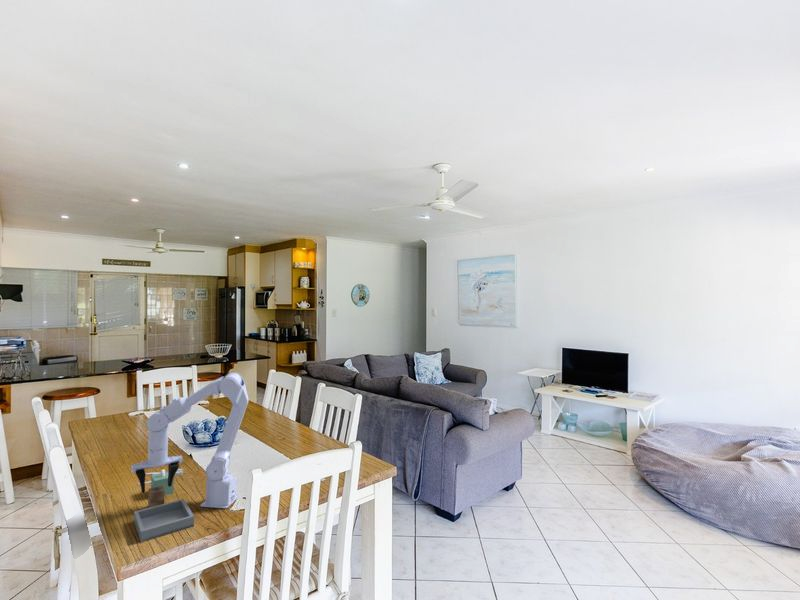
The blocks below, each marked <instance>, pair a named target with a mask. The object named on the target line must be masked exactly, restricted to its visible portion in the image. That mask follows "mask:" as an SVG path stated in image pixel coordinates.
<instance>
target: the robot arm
mask: <svg viewBox="0 0 800 600" xmlns="http://www.w3.org/2000/svg"><path fill="white" fill-rule="evenodd" d="M246 387H247V386H246V381H245V380H244V378H243V377H242V375H241V374H240V373H238V372H229V373H227V374H226V375H225V376H220V377H218V378H217V379H214V380H212V381H211V382H210V383H207V384H206V385H205V386H203V387H202V388H200V389H198V390H197V391H196V392H194V393H192V394H191V395H190V396H188V397H183V396H181V397H179V398H178V397H175V398H173V399H172V401H171V403H169V404H168V405H166V406H161V407H160V408H159V410H156V411H155V412H154V413H152V414H151V415H150V416H149V417H148V419H147V421H146V427H147V429H148V438H147V439H148V440H147V441H148V442H147V444H148V445H147V460H145V461H142V462H138V463H134V464H131V465H130V466H131V468H130V469H131V470H130V471H131V473H134V474H135V475H136V478H137V479H138V482H139V483H140V485H139V486H140V490H141V491H140V492H141V493H142V494H143V493H146V484H145V482H146V476H147V475H146V474H145V473H146V471H145V470H149V469H153V468H158V467H163V466H167V465H168V468H167V469H168V471H167V472H168V486H169V487H170V486H171V485H172V481H173V478H174V477H175V476H174V475H175V473H176V471H177V470H178V469H180V464H182V463H183V456H182V455H176V456H175V455H173V456H168V454H169V452H168V451H169V450H168V449H169V448H168V447H169V424H171V423H173V422H175V421H177V420H179V419H181V418H182V417H183V416H185V415H187V414H188V413H189V412H191V410H192V406H194V405H196V404H198V403H199V402H201V401H203V400H204V399H206V398H208V397H209V396H211V395H218V396H220V395H221V394H222V395H224V396H225V397H226V398H228V399H229V401H230V403H231V404H232V407H231V410H230V412H229V415H228V417H227V420H226V423H225V426H224V430H223V431H222V434H221V437H220V440H219V443H218V446H217V448H216V450H215V453H214V455H213V456H212V458H211V459H210V460H211V461H210V462H209V464H208V465H207V466H206V468H205V475H206V483H205V484H206V486H205V500H204V501H203V502H202V503H201V504H200V505H199V506H200V507H201V508H203V507H204V508H215V509H228V508H229V507H230V506H231V505H232V504H233V503H234V502H235V501H236V500H237V499H238V498H239V497H238V478H237V477H235V476H232V475H231V474H230V471H229V470H228V468H229V466H230V464H231V453H232V449H233V446H234V443H235V441H236V438H237V435H238V432H239V429H240V428H241V427H240V426H241V424H242V421H243V418H244V415H245V413H246V409H247V407H248V404H249V400H250V399H249V395H248V392H247V388H246ZM174 479H175V478H174Z"/></svg>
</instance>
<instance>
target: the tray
mask: <svg viewBox="0 0 800 600" xmlns="http://www.w3.org/2000/svg"><path fill="white" fill-rule="evenodd" d="M133 523H134V524H133V525H134V527H135V529H136V530H135V531H136V532H137V535H138V536H137V537H138V539H139V542H140V543H143V542H145V541H150V540H152V539H156V538H159V537H164V536H166V535H168V534H173V533H176V532H180V531H183V530H186V529H189V528H192V527H194V526H195V515H194V513H193V512H192V510H191V509H190V507H189V506H188V503H187V502H186V500H185V499H184V498H181V499H177V500H174V501H171V502H169V501H168V502H166V503H165V502H164V504H161V505H158V506H154V507H150V508H148V507H146V508H143V509H139V510H135V511H133Z"/></svg>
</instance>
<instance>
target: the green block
mask: <svg viewBox="0 0 800 600" xmlns="http://www.w3.org/2000/svg"><path fill="white" fill-rule="evenodd" d="M159 472H160V473H159V474H154V475H150V476H151V477H150V478H151V479H150V481H151V483H150V488H154V487H158V486H163V488H164V490H165V496H166V495H173V494H174V482H175V481H174V480H175V478H173V481H172V485H171V486H170V487H169V486H168V471H166V469H161V470H160V471H159Z"/></svg>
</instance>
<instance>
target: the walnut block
mask: <svg viewBox="0 0 800 600" xmlns="http://www.w3.org/2000/svg"><path fill="white" fill-rule="evenodd" d="M165 496H166V495H165V490H164V488H163V486H158V487H154V488H151V487H149V488H148V499H147V500H148V501H147V503H148V504H147V508H150V507H154V506H158V505H161V504H165Z"/></svg>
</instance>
